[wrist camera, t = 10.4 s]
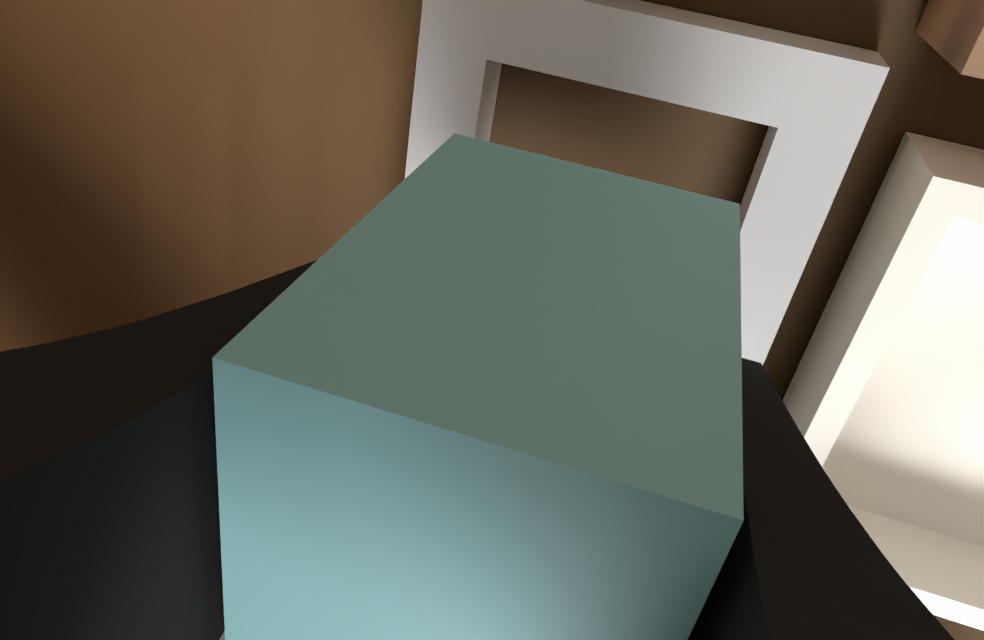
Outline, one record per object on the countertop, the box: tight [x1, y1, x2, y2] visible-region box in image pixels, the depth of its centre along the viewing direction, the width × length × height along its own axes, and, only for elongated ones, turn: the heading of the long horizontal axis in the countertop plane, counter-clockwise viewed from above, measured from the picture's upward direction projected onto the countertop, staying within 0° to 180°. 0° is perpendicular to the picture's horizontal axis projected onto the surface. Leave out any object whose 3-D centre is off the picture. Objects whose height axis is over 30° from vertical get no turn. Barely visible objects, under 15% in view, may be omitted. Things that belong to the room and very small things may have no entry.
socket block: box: [405, 0, 890, 366], centre depth 14 cm, size 7×7×1 cm
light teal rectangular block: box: [212, 133, 744, 640], centre depth 9 cm, size 4×4×6 cm
